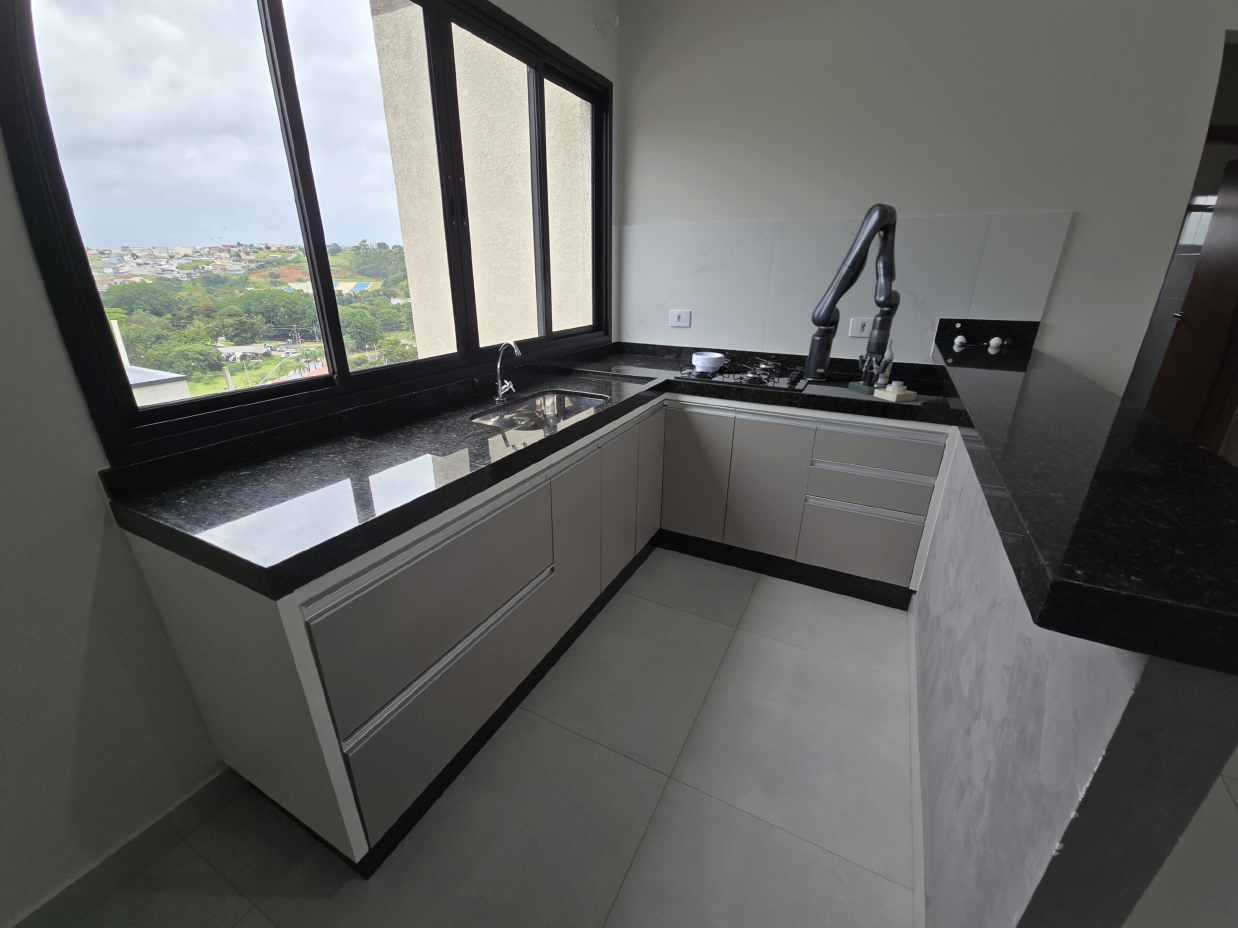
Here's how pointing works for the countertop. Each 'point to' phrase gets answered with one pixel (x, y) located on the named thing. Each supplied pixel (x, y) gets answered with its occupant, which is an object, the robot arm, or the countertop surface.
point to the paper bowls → (708, 361)
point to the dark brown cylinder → (869, 377)
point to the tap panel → (865, 387)
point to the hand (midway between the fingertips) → (869, 381)
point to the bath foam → (889, 356)
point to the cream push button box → (895, 393)
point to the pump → (897, 384)
